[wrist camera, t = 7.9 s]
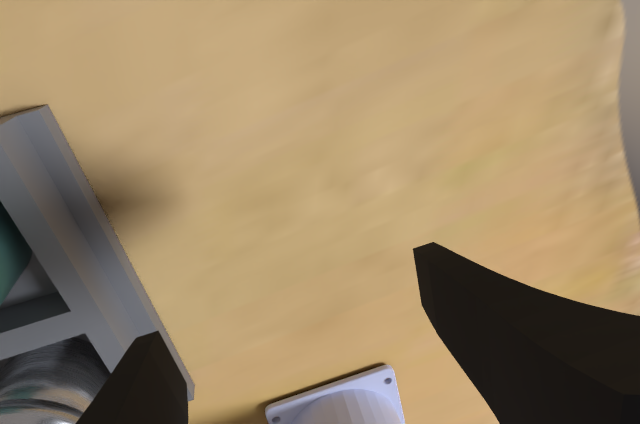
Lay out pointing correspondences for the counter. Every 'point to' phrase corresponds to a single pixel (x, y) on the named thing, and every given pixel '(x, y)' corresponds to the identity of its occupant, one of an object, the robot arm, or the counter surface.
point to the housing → (63, 282)
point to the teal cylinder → (11, 253)
